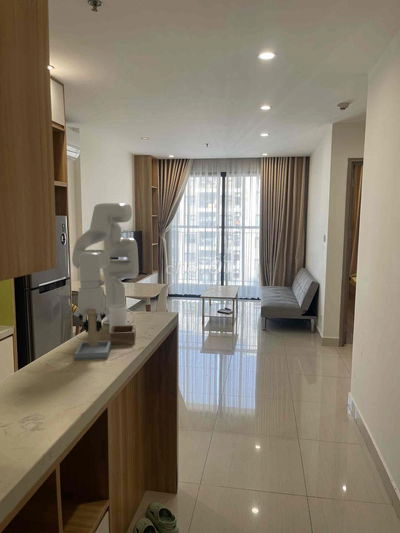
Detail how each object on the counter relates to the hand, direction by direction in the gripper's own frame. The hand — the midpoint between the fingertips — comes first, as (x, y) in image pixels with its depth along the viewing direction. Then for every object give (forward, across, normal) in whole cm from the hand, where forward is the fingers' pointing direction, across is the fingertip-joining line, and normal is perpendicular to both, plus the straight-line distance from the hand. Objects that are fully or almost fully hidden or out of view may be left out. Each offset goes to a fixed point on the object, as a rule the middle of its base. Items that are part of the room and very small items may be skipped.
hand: (93, 330), depth 152 cm
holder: (+9, -10, -14) cm, 20 cm away
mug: (+9, -9, -27) cm, 30 cm away
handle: (+6, 0, 0) cm, 6 cm away
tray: (+9, 0, 0) cm, 9 cm away
